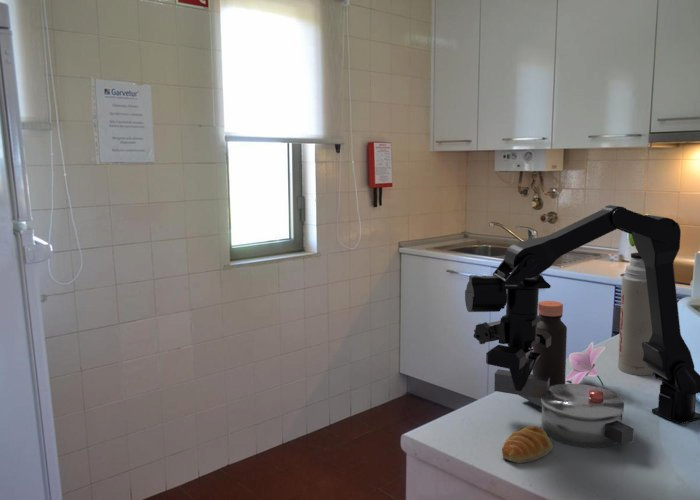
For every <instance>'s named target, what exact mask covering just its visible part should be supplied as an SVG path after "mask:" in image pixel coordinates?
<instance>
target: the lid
mask: <svg viewBox="0 0 700 500" xmlns="http://www.w3.org/2000/svg"><path fill="white" fill-rule="evenodd" d="M493 388H494V391H493V392H499V393H504V394H511V395H516V396H519V395H522V396H528V397H534V398H540V399H541V402H542V404H543V405H544V406H545V407H546V408H547V409H549V410H550V411H552V412H554V413H556V414H559V415H562V416H565V417H569V418H574V419H580V420H591V421H599V420H608V419H613V418H616V417H618V416H620V415H621V414H622V415H623V413H624V411H625V403H624V400H623V398H622V397H620V396H619V395H618V394H616V393H615V392H612V391H610V390H607V389H605V388H603V387H598V386H594V385H590V384H583V383H582V384H581V383H579V384H572V383H565V384H559V385H554V386H550V377H547V376H540V375H534V374H533V373H531V374H530V375H529V377H528V379H527V381H526V383H525V385H524V387H523V389H522V390H521V391H516V390H515V387H514V383H513V380H512V376H511V373H510V370H505V369H499V368H498V369H497V370H496V371H495V372H494V386H493Z"/></svg>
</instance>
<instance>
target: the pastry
mask: <svg viewBox="0 0 700 500" xmlns="http://www.w3.org/2000/svg"><path fill="white" fill-rule="evenodd" d="M552 449H553V443H552V441H551V439H550V438H549V436H548V435H547V434H546V432H545V431H544V430H543V429H542V427H541V428H540V427H538V426H537V425H536V426H529V425H527V426H525V427H523V428H522V429H520V430H517V431H515V432H513V433H512V434H511V435H510V436H509V437H507V439H506V440H505V442H504V444H503V446H502V448H501V452H502V459H506V460H507V461H510V462H514V463H516V464H517V463H518V464H522V463H527V462H531V461H532V462H533V461H537V460H538V459H540V458H541V457H545V456H547V455H548V454H549V453H550V452H551V451H552Z"/></svg>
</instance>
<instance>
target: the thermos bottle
mask: <svg viewBox="0 0 700 500" xmlns="http://www.w3.org/2000/svg"><path fill="white" fill-rule="evenodd" d="M624 272H625V274H624V275H622V276H621V294H620V296H621V297H620V316H619V317H620V318H619V319H620V320H619V336H618V338H619V339H618V342H619V343H618V357H617V358H618V360H617V361H618V362H617V368H618V370H619V371H621V372H624V373H627V374H629V375H636V376H650V375H654V374H653V371H652V370H651V369H650V368H649V367H648V366H647V363H646V362H644V361H643V357H644V351H643V348H642V342H649V340H650V338H651V336H652V324H651V315H650V307H649V298H648V289H647V280H646V271H645V264H644V261H643V260H642V258H641V256H640V255H639V253H638V252H631V253H630V261H629V265H627V266H626V267H625V270H624Z"/></svg>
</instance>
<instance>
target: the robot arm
mask: <svg viewBox="0 0 700 500" xmlns="http://www.w3.org/2000/svg"><path fill="white" fill-rule="evenodd" d="M617 230H618V231H621V232H624V233H627V234H630V235H631V236H632V240H633V243H634V246H635V249H636V251H637V253H639V255H640V256H641V258H642V260H643V261H644V264H645V271H646V280H647V289H648V298H649V307H650V315H651V324H652V336H651V338H650V340H649V342H642V348H643V351H644V357H643V361H644V362H646V363H647V366H648V367H649V368H650V369H651V370H652V371H653V373H654V374H653V375H654V378H655V379H657V380H659V381H661V384H659V393H658V404H657V407H654V408H651V413H654V414H656V415H658V416H660V417H663V418H665V419H668V420H669V421H672V422H674V423H677V424H680V425H681V424H685V423H689V422H693V421H695V420H696V421H697V420H698V419H700V413H699V412H696V400H697V394H700V374H699V373H698V371H696V370H695V363H694V360H693V358H692V357H693V356H692V353H691V350H690V348H689V347H688V345H687V344H686V341H685V339H683V337H682V333H681V325H680V316H679V315H680V314H679V306H678V295H677V285H676V284H677V283H676V278H675V277H676V276H675V267H674V263H675V260H676V258H677V255H678V254H679V251H680V250H681V249H680V248H681V235H682V234H681V233H682V230H681V226H680V224H679V223H678V222H677V221H675V220H674V219H673V218H669V217H664V216H660V215H655V214H654V215H653V214H641V213H639V212H636V211H632V210H630V209H627V208H626V207H624V206H619V205H612V204H608V205H605V206H604V207H603V208H601V210H597V211H596V212H594V213H592V214H590V215H588V216H586V217H583V218H581V219H579V220H578V221H575V222H573V223H571V224H569V225H567V226H565V227H562V228H560V229H559V230H557V231H555V232H553V233H551V234H548V235H545V236H541V237H536V238H530V239H526V240H523V241H519V242H516V243H513V244H511V245H510V246H509V247H508V248H507V249H506V251H505V253H504V259H503V260H502V261H501V263H500V264H499V265H498V267H496V269H495V270H494V271H493V272H492V275H477V274H474V275H473V274H471V275H469V277H468V278H469V279H468V282H467V284H466V289H465V290H464V301H465V306H466V310H467V312H468V313H497V312H498V313H499V312H501V310H503V309H504V310H505V309H506V310H505V315H502V316H501V317H500V320H496V321H492V322H483V323H479V322H478V323H477V324H476V325H475V328H474V329H473V332H474V334H473V338H474V339H476V340H477V341H478V344H479V345H484V344H486V343H490V342H495V341H498V344H497V345H495V346H494V347H492V348H491V349H490V350H488V351H487V352H486V355H485V364H487V365H490V366H494V367H499V368H504V369H508V371H510V373H511V376H512V380H513V383H514V387H515V390H516V391H521V390H522V389H523V387H524V385H525V383H526V381H527V379H528V377H529V375H530V374H532V373H533V368H534V366H535V364H536V362H537V361H538V359H539V357H540V356H541V354H540V353H535V352H533V351H534V349H533V347H534V346H535V345H536V344H538V343H542V344H543V347H544V348H548V347H549V346H550V345H551V335H550V334H549V333H548V331H545V330H539V329H537V323H538V322H540V321H541V316H539V313H538V305H539V293H540V291H539V290H540V289H546V290H547V289H550V288H551V287H552V285H551V284H550V283H549V282H547V280H545V278H544V276H543V275H542V273H544V272H545V271H547V270H548V269H549V268H550V267H552V266H553V265H554V264H555V262H556V261H557V260H558V259H559V258H561V257H563V256H564V255H566V254H567V253H570V252H572V251H575V250H576V249H578V248H580V247H583V246H585V245H586V244H589V243H590V242H593V241H595V240H597V239H599V238H601V237H603V236H605V235H607V234H610V233H612V232H614V231H617Z"/></svg>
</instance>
